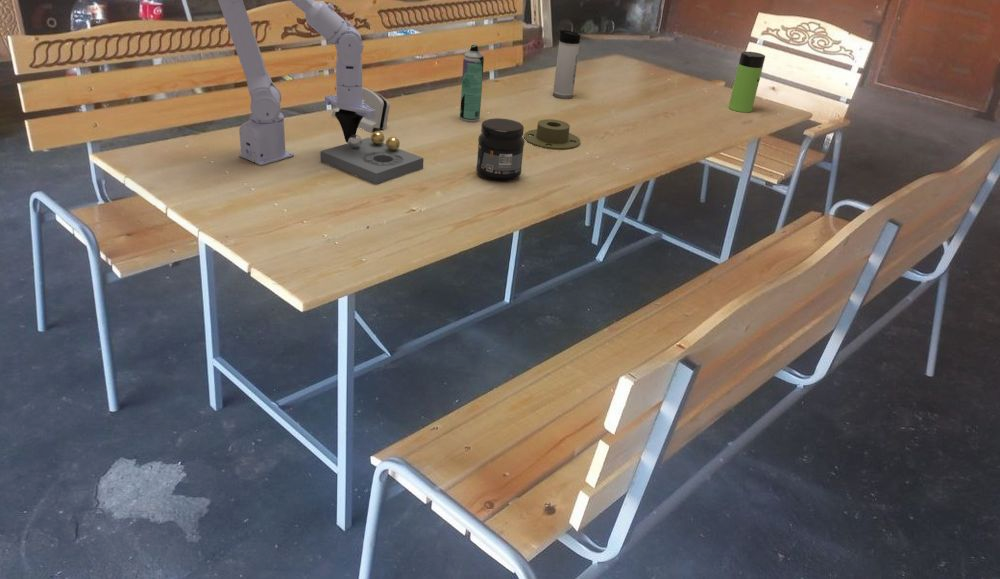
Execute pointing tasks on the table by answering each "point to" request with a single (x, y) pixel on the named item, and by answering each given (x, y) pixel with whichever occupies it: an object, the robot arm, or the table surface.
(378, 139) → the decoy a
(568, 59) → the travel mug
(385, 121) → the grey rounded bracket
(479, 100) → the spray can
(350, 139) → the ball
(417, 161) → the plate
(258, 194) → the table surface
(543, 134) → the flange
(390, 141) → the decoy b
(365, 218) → the table surface
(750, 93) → the tumbler
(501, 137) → the supplement container
